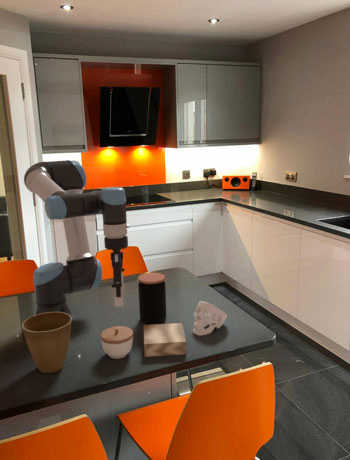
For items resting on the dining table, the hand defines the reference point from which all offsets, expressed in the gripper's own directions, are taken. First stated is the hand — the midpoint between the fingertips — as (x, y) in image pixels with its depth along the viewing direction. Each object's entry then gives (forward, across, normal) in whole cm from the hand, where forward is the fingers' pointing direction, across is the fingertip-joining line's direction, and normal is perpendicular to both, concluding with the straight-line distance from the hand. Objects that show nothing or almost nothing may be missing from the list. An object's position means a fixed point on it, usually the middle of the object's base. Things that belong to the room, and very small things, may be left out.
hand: (119, 297), depth 134 cm
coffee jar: (+19, +23, -12) cm, 32 cm away
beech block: (+20, +2, -14) cm, 25 cm away
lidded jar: (+20, -2, +2) cm, 20 cm away
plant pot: (+20, -7, +23) cm, 31 cm away
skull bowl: (+20, +12, -32) cm, 40 cm away
